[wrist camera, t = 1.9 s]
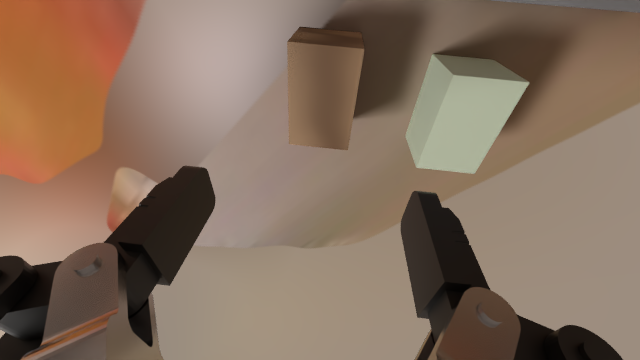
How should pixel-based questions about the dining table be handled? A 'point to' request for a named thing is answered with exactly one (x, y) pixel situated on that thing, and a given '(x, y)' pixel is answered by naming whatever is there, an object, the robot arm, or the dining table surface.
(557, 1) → the plate
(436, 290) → the robot arm
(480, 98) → the sage brick
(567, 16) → the dining table surface
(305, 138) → the walnut brick
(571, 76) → the dining table surface
